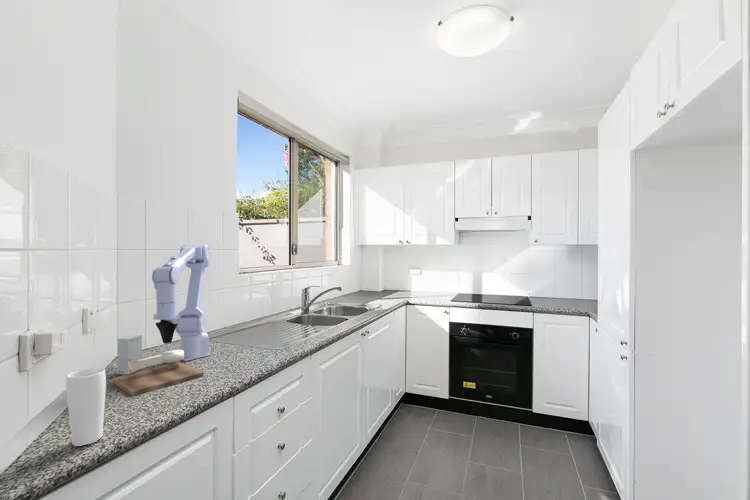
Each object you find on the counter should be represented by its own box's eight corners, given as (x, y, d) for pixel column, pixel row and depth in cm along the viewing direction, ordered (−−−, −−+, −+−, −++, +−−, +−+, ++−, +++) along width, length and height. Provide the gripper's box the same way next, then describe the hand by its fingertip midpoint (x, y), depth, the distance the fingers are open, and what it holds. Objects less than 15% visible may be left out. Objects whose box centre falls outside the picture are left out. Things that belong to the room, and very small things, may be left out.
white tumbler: (82, 434, 83) (80, 368, 82) (114, 432, 83) (112, 366, 83) (59, 451, 76) (57, 378, 76) (93, 448, 76) (92, 377, 76)
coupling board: (180, 365, 131) (180, 355, 131) (203, 375, 120) (203, 365, 120) (112, 382, 116) (111, 371, 116) (131, 396, 104) (131, 383, 104)
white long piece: (178, 355, 131) (178, 348, 130) (188, 358, 126) (187, 351, 126) (125, 368, 117) (125, 360, 117) (134, 372, 113) (134, 363, 113)
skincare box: (128, 375, 122) (127, 339, 122) (117, 374, 123) (116, 338, 123) (143, 369, 128) (142, 334, 128) (132, 368, 129) (132, 334, 129)
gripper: (143, 302, 124) (144, 342, 124) (164, 305, 115) (165, 348, 115) (165, 299, 129) (166, 337, 130) (186, 302, 121) (187, 343, 121)
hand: (167, 342), depth 123 cm, fingers closed
